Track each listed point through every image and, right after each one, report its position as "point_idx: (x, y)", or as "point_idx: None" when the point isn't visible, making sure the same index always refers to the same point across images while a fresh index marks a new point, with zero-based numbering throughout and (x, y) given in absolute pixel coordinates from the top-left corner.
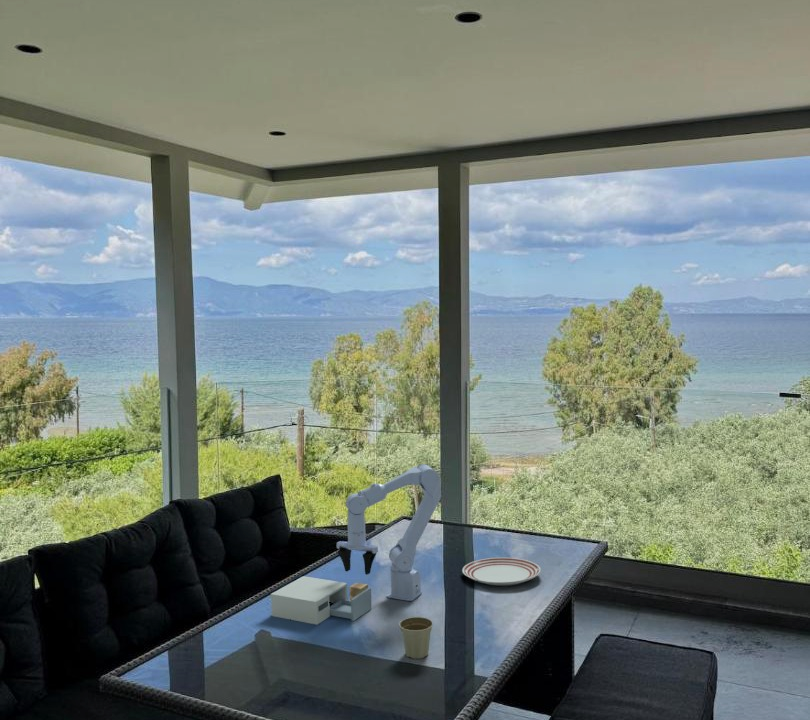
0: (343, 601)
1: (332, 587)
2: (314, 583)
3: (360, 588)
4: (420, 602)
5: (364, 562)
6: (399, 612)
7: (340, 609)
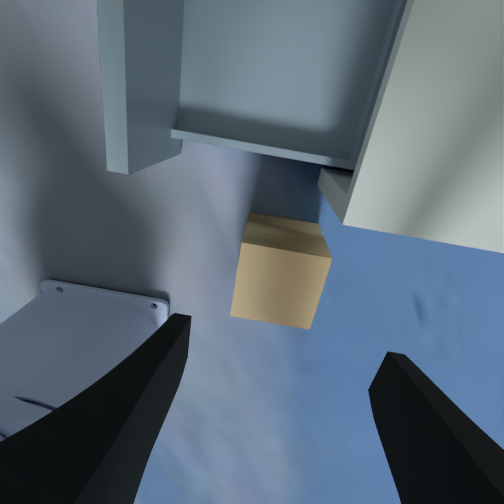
0: (339, 158)
1: (471, 69)
2: None
3: (246, 245)
4: (9, 278)
5: (129, 412)
6: (13, 142)
7: (329, 48)
